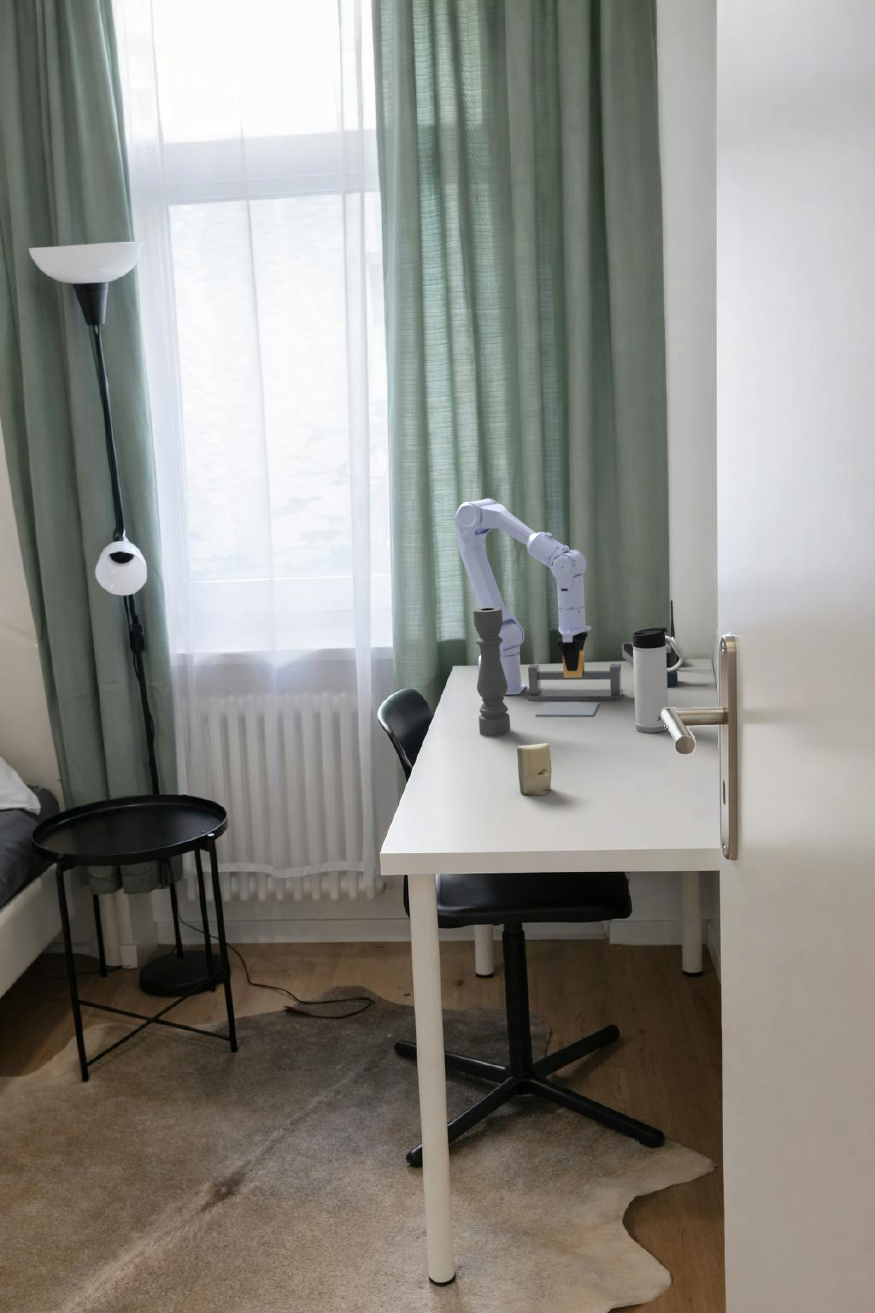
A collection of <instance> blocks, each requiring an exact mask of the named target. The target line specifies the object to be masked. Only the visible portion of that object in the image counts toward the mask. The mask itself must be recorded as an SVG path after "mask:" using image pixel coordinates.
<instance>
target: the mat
mask: <svg viewBox="0 0 875 1313" xmlns="http://www.w3.org/2000/svg"><path fill="white" fill-rule="evenodd" d="M599 705H600V701H597V702H596V701H589V702H588V701H587V702H586V701H583V702H582V701H580V702H579V701H577V702H576V701H575V702H574V701H571V702H570V701H558V702H557V701H552V702H551V701H543V702H542V704H541V706H540V707H539V708H538V711H536V713H535V717H594V715H595V713H596V712H597V709H598V707H599Z"/></svg>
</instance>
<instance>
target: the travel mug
mask: <svg viewBox="0 0 875 1313" xmlns="http://www.w3.org/2000/svg"><path fill="white" fill-rule="evenodd" d="M665 633H668V627H666V626H663V627H653V628H652V627H651V628H645V629H641V630H638V631H635V632H634V633H633V634H632V642H633V661H634V667H633V681H634V682H633V683H634V684H633V687H634V713H635V729H636V731H638V732H640V733H644V732H645V733H646V734H656V733H655V732H659V733H661V732H660V731H663V732H665V728H666V725H665V723H664V721H663V720H662V719H661V710H662V708H664V707H668V708H669V704H668V703H669V702H668V699H669V697H668V687H667V662H666V642H667V641H666V640H667V639H665V636H666V634H665ZM664 725H665V727H664ZM667 730H668V729H667V728H666V731H667Z"/></svg>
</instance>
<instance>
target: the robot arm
mask: <svg viewBox="0 0 875 1313" xmlns="http://www.w3.org/2000/svg"><path fill="white" fill-rule="evenodd" d="M453 520H454V523H455V526H456V547H457V548H458V552H459V554H460V558H461V559H462V563H463V565H464V568H465V571H466V573H467V574H466V575H467V577H468V579H469V582H470V585H471V587H472V589H473V593H474V596H475V598H476V601H477V604H478V606H479V607H478V608H482V607H500V608H502V618H503V625H502V626H501V627H502V629H501V630H500V633H499V636H500V637H501V638H502V639H503V642H502V643H501V644H500V661H501V664H502V668H503V671H504V674H505V678H506V681H507V684H508V689H507V692H506V694H505V695H521V693H522V692H523V690H524V689H525V688H526V687H527V685H526V684H524V683H523V684H522V674H521V673H522V672H521V657H520V656H521V655H520V653H521V652H520V651H521V645H522V644H523V642H524V640H525V630H524V629H523V627H522V626H521V624H520V623H519V622H518V621H517V619H516V617H515V614H514V613H513V612H511V611H510V610H509V609H508V608H507V607H506V605H505V603H504V600H503V597H502V594H501V592H500V590H499V586H498V584H497V581H496V578H495V576H494V573H493V570H492V567H491V565H490V562H489V560H488V556H487V554H486V550H485V549H484V545H483V544H484V542H485V540H486V537H487V535H488V533H490V531H491V530H492V529H498V530H500V531H501V532H503V533H506V534H507V535H509V536H510V537H512V538H513V539H516V540H517V541H518V542H520V543H522V544H524V545H525V546H526V548H527V552H528V554H529V555H530V556H532V557H533V558H535V559H536V560H538V561H539V562H540V563H541V564H543V565H545V566H547V567H548V569H550V571H551V573H552V575H553V577H554V578H555V580H556V586H557V588H556V591H557V609H558V610H557V612H558V613H557V614H558V627H557V629H558V632H559V633H560V634H561V637H562V638H558V639H557V640H556V644H557V645H558V647H559V649H560V651H561V653H562V658H563V657H564V660H565V664H566V668H567V671H577V669H578V662H579V653H580V650H584V646H585V643H586V640H587V638H588V636H589V633H588V631H591V629H592V626H591V625H586V611H585V605H586V604H585V587H584V586H585V584H584V574H585V573H586V571H587V570H588V560H587V557H586V555H584V553H582V552H581V550H578V549H572V550H571V549H570V546H568V545H566V544H562V543H561V542H559V540H556V539H555V538H554V537H553V536H554V534H552V533H550V531H549V532H546V531H540V532H535V531H534V530H533V529H531V528H530V527H529V526H527V524H525V523H523V522H522V520H520V519H519V518H517V517H516V516H515V515H513V514H512V513H511V512H510V511H508V510H507V509H506V508H505V506H504V505H503V504H500V503H498V502H497V501H496V500H495V499H493V498H484V499H482V500H481V499H480V500H475V501H466V502H463V503H462V504H460V505H459V506H458V508H457V510H456V512H455V514H454V517H453ZM479 654H480V653H479ZM480 664H481V654H480V655H479V657H478V664H477V666H478V667H477V669H478V673H479V670H480Z"/></svg>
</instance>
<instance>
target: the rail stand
mask: <svg viewBox="0 0 875 1313" xmlns="http://www.w3.org/2000/svg"><path fill="white" fill-rule="evenodd" d="M621 668H622V665H621V663H611V664H610V666H609V670H585V671H582V674H583V677H580V678H564V673H563V670H549V671H548V670H547V671H545V670H543V671H542V670H541V668H540V664H530V665H529V666H528V667H527V669H528V670H527V672H528V690H529V693H528V694H529V695H528V697H527V698H528V701H529V702H530V701H531V702H533V701H534V702H536V701H537V702H551V701H552V702H557V701H558V702H570V701H571V702H574V701H575V702H576V701H577V702H579V701H580V702H582V701H583V702H586V701H587V702H588V701H589V702H596V701H597V702H601V701H602V702H604V701H606V702H607V701H608V702H609V701H612V702H616V701H617V702H619V701H621V699H622V696H623V689H622V669H621ZM564 680H565V681H573V680H574V681H577V680H579V681H581V680H583V681H585V680H590V681H591V680H593V681H595V680H609V682H610V689H541V681H564Z"/></svg>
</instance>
